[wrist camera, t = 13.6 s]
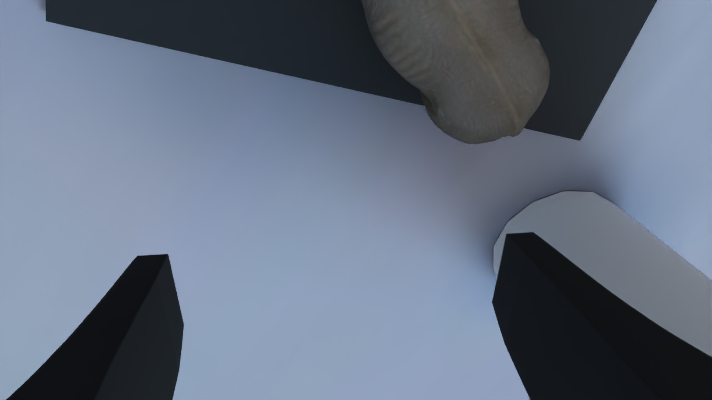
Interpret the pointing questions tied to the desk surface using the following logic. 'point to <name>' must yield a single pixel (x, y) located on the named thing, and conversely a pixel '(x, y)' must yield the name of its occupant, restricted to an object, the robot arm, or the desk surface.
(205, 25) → the back mat
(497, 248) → the foam cup
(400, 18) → the rhino figurine
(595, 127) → the desk surface
